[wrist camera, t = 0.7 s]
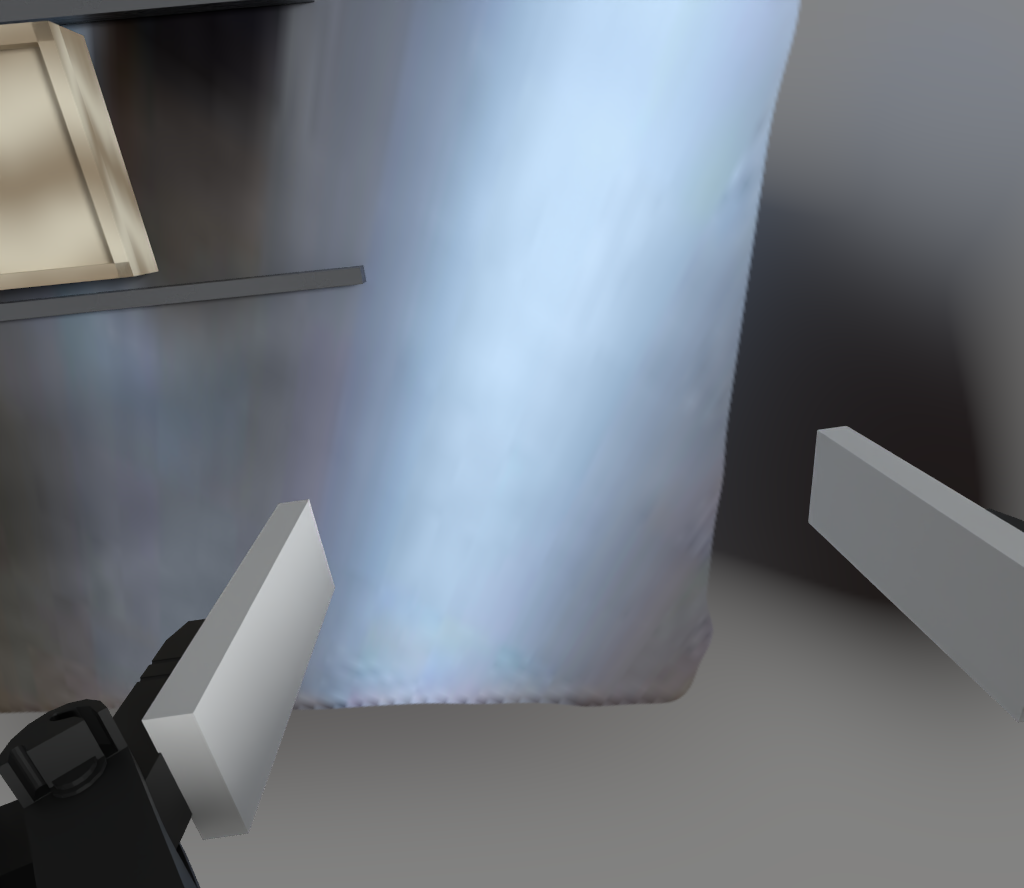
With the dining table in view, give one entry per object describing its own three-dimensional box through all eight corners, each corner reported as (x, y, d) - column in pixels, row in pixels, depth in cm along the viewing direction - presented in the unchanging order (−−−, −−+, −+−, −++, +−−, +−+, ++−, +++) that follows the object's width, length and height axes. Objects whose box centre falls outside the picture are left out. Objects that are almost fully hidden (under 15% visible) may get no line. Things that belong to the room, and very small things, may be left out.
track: (-277, 31, 31) (-305, 25, 29) (310, -21, 31) (304, -29, 30) (-120, 331, 37) (-139, 335, 36) (366, 281, 38) (362, 283, 36)
